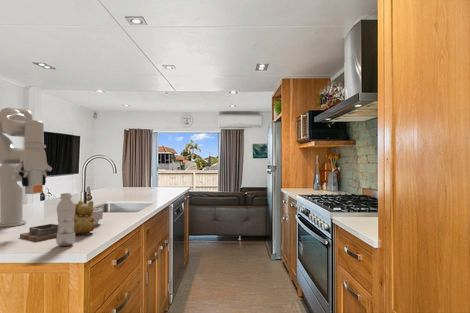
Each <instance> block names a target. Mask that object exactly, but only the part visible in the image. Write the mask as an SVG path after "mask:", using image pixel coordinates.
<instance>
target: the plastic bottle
mask: <svg viewBox="0 0 470 313" xmlns="http://www.w3.org/2000/svg"><path fill="white" fill-rule="evenodd" d="M72 198H73V196H72V193H67V192H66V193H60V198H59V199H61V200H60V201H59V202H58V204H57V205H56V213H57V214H56V217H57V225H58V232H57V237H56V239H55V242H56V245H57V246H59V247H67V246H71V245H73V244H75V241H76V235H75V232H74V215H75V209H76V206H75V204H76V203H74V202H73V200H72Z"/></svg>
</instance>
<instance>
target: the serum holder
mask: <svg viewBox="0 0 470 313" xmlns="http://www.w3.org/2000/svg"><path fill="white" fill-rule="evenodd" d="M57 232H58V223H57V224H56V223H47V224H42V225H41V224H40V225H36V226H30V227H29V230H28V232H24V233H19V237H20V238H21V239H24V240H29V241H34V242H41V241H42V242H43V241H46V240H52V239H55V238H56V237H57Z"/></svg>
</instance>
